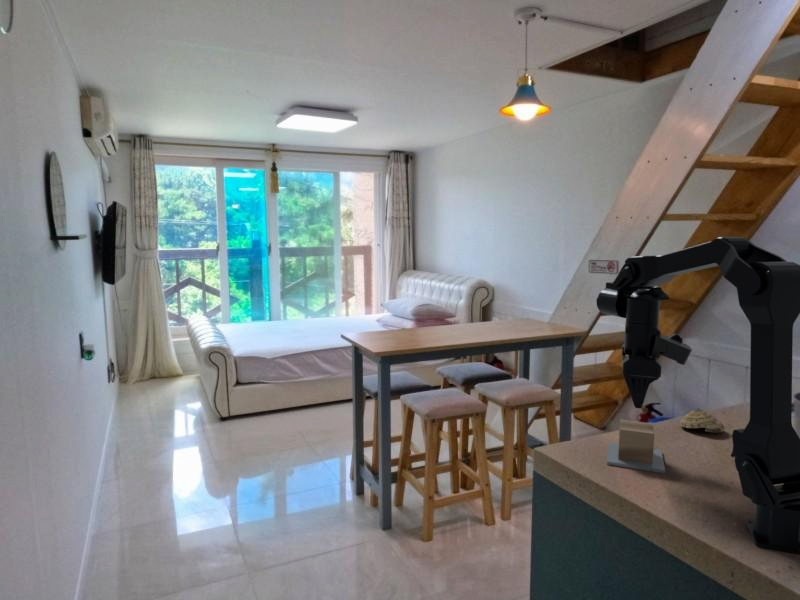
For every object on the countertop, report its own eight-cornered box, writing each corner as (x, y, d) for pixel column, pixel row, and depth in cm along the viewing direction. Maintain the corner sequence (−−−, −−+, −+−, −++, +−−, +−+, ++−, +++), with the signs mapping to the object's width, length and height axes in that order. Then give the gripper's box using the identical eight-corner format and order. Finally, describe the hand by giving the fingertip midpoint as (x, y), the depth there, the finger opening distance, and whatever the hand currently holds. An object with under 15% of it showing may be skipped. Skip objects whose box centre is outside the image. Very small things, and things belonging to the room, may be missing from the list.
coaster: (665, 473, 96) (665, 470, 96) (607, 464, 100) (607, 461, 100) (661, 452, 105) (661, 449, 105) (607, 445, 109) (608, 442, 109)
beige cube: (652, 464, 99) (654, 433, 98) (618, 459, 101) (619, 429, 100) (650, 452, 104) (652, 423, 103) (618, 447, 107) (619, 419, 106)
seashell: (721, 429, 111) (685, 406, 116) (708, 449, 113) (673, 426, 119) (733, 421, 117) (698, 400, 122) (720, 440, 119) (686, 419, 124)
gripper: (696, 333, 88) (690, 422, 90) (683, 317, 105) (678, 392, 107) (625, 328, 92) (620, 413, 94) (623, 314, 109) (620, 386, 111)
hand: (637, 400), depth 101 cm, fingers open, 9 cm apart
